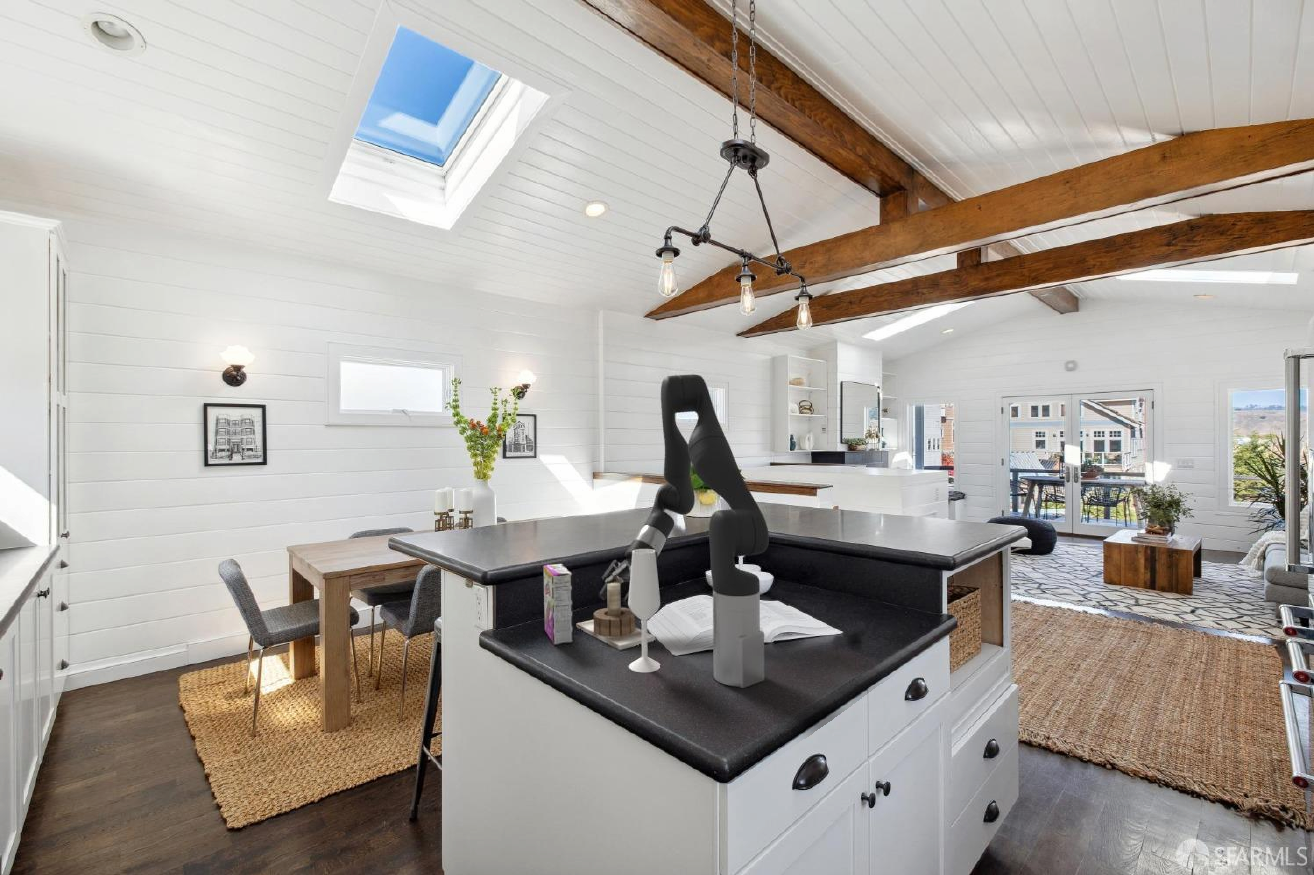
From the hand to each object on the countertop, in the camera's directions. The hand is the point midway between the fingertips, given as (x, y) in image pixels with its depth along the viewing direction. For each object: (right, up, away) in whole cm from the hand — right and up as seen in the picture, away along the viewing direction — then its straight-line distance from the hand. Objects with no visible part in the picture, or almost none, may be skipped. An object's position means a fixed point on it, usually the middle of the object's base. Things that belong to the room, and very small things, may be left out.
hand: (613, 601), depth 142 cm
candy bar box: (-13, -8, -2) cm, 16 cm away
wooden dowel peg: (0, -7, 0) cm, 7 cm away
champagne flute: (+8, -8, -20) cm, 23 cm away
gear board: (0, -8, 0) cm, 8 cm away
